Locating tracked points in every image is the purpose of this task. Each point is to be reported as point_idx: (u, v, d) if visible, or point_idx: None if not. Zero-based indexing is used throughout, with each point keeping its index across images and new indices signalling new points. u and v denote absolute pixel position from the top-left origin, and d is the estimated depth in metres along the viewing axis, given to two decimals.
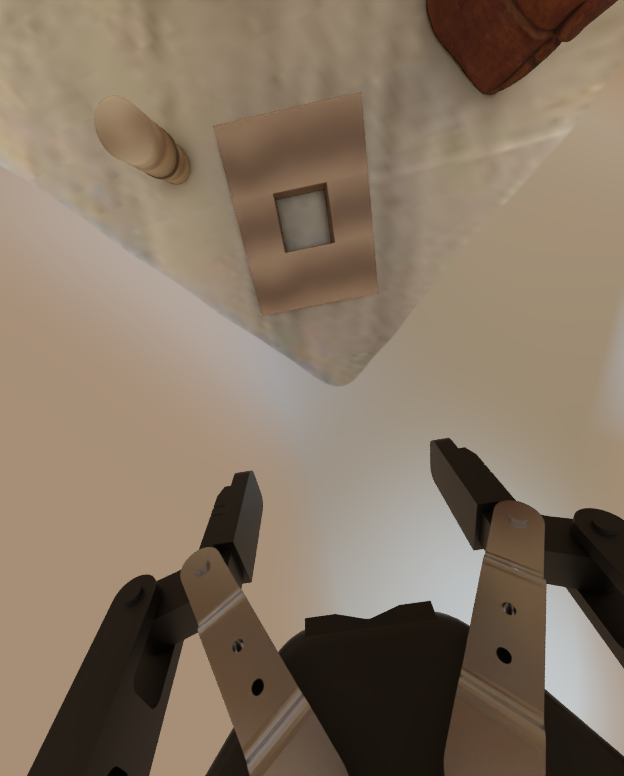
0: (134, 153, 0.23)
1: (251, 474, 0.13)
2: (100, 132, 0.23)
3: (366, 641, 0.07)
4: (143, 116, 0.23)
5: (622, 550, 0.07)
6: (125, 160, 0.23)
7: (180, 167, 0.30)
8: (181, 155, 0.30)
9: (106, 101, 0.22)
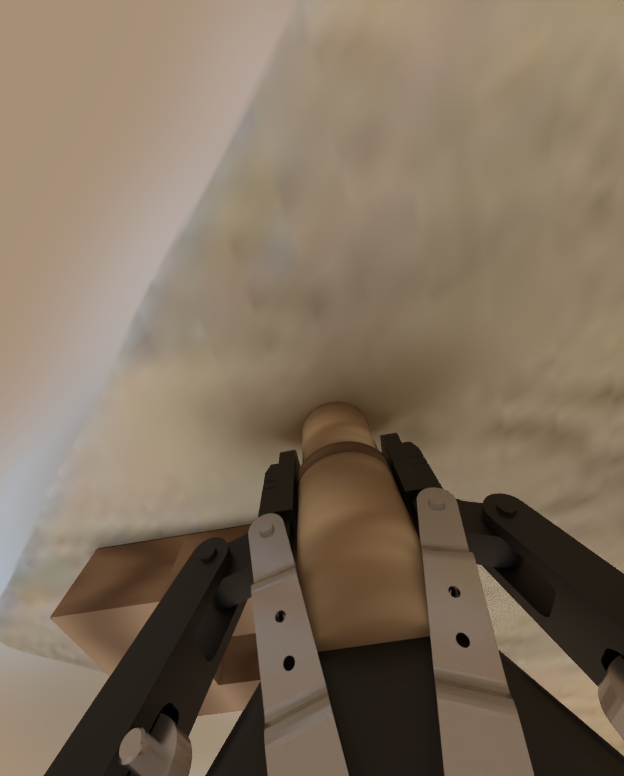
0: None
1: (295, 453, 0.13)
2: (378, 628, 0.06)
3: None
4: None
5: (515, 528, 0.08)
6: None
7: None
8: None
9: None
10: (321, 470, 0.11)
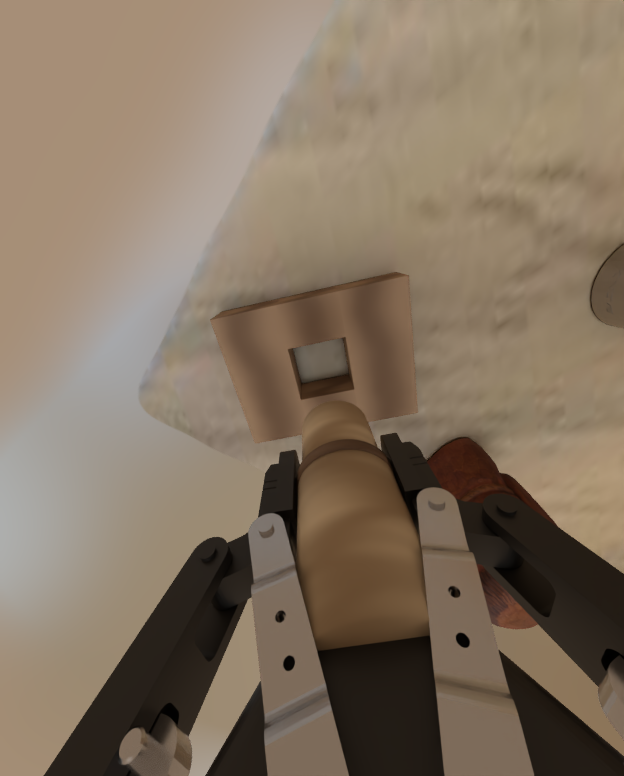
0: None
1: (295, 453, 0.13)
2: (378, 625, 0.06)
3: None
4: None
5: (515, 528, 0.08)
6: None
7: None
8: None
9: None
10: (321, 468, 0.11)
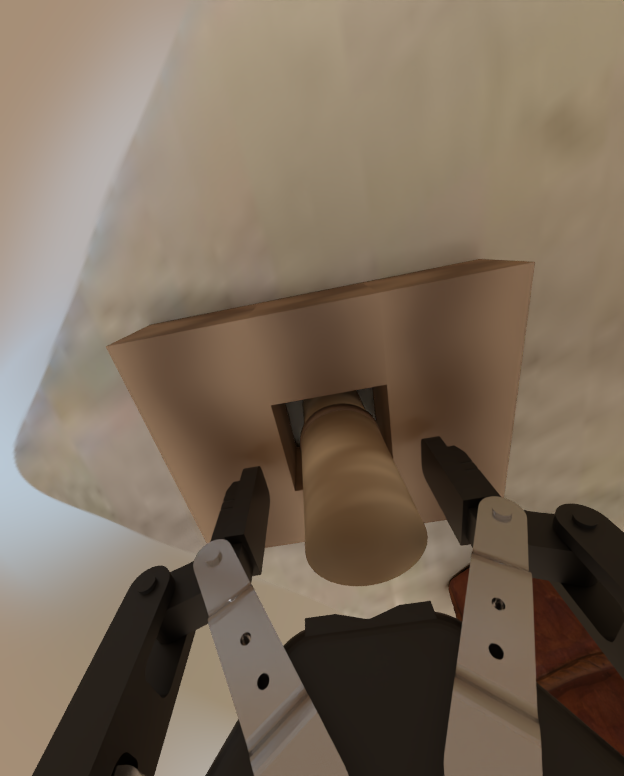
0: (321, 561, 0.10)
1: (259, 469, 0.13)
2: (364, 510, 0.09)
3: (366, 641, 0.07)
4: None
5: (599, 543, 0.07)
6: (307, 544, 0.09)
7: None
8: None
9: (419, 530, 0.09)
10: (321, 424, 0.13)
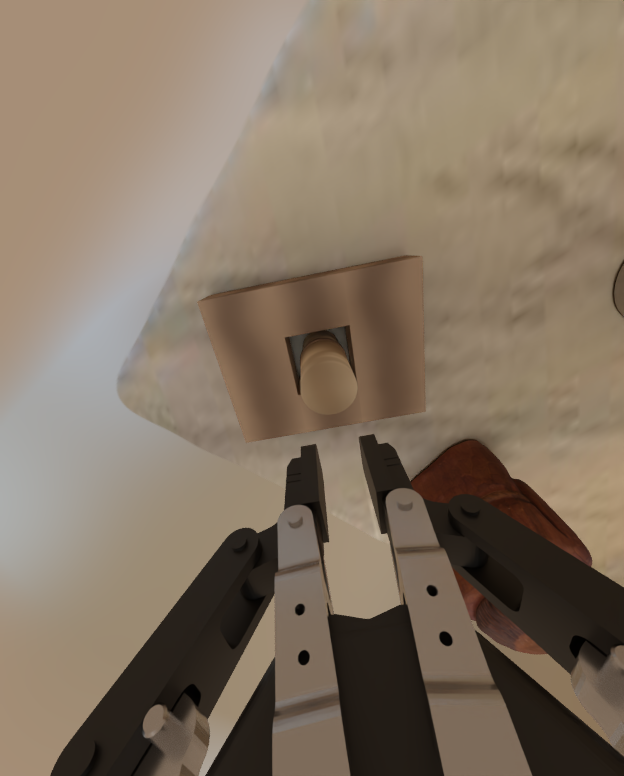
0: (308, 397, 0.21)
1: (316, 447, 0.14)
2: (326, 367, 0.20)
3: (366, 641, 0.07)
4: None
5: (476, 528, 0.08)
6: (301, 386, 0.20)
7: None
8: None
9: (353, 380, 0.20)
10: (311, 346, 0.24)
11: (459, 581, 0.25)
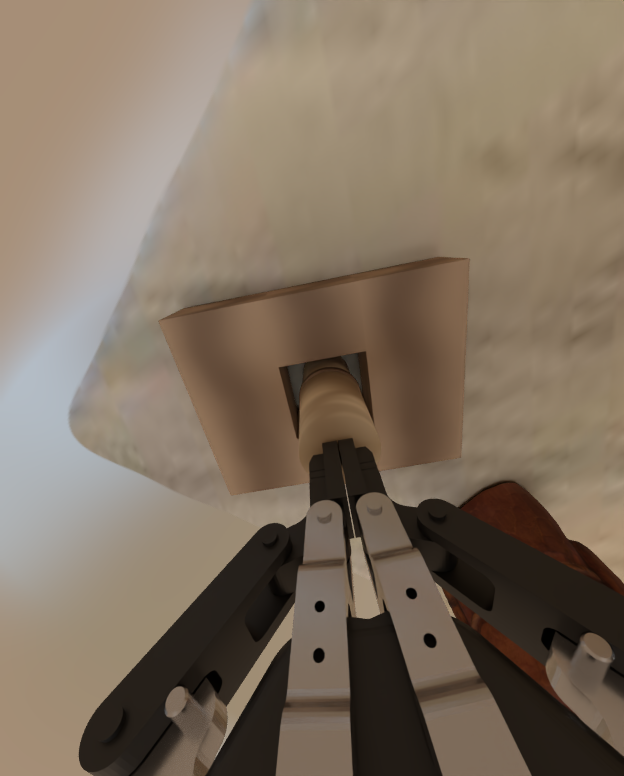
0: None
1: None
2: (337, 423, 0.13)
3: (366, 641, 0.07)
4: None
5: (441, 533, 0.08)
6: (300, 448, 0.14)
7: None
8: None
9: (375, 440, 0.14)
10: (314, 380, 0.18)
11: None
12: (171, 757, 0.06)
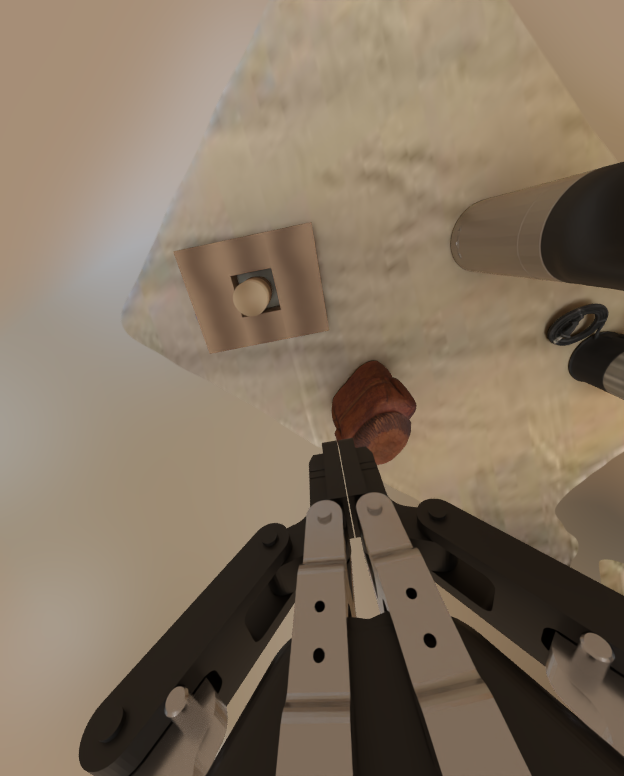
0: (238, 304, 0.35)
1: None
2: (247, 284, 0.34)
3: (366, 641, 0.07)
4: None
5: (441, 533, 0.08)
6: (233, 297, 0.34)
7: None
8: None
9: (263, 293, 0.34)
10: (246, 280, 0.38)
11: (344, 433, 0.40)
12: (171, 757, 0.06)
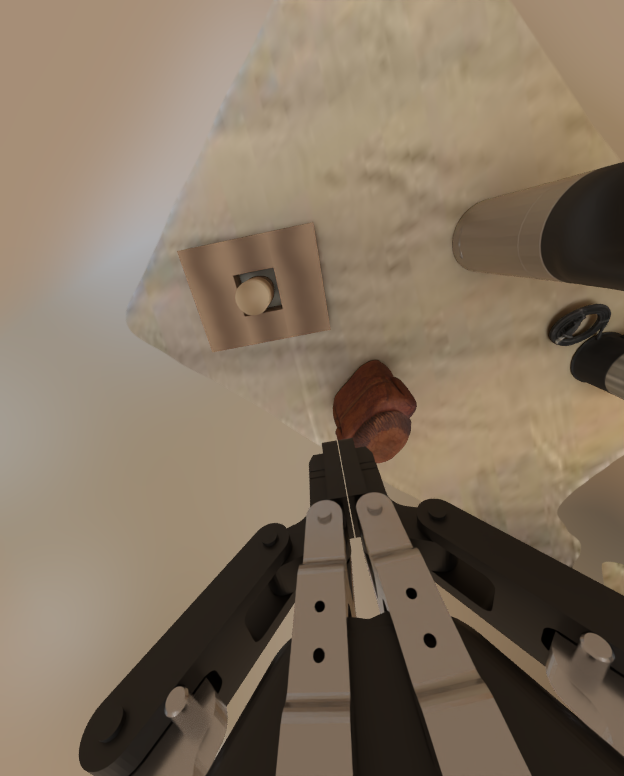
0: (240, 303, 0.35)
1: None
2: (249, 283, 0.34)
3: (366, 641, 0.07)
4: None
5: (441, 533, 0.08)
6: (235, 296, 0.35)
7: None
8: None
9: (265, 292, 0.35)
10: None
11: (345, 431, 0.40)
12: (171, 757, 0.06)
